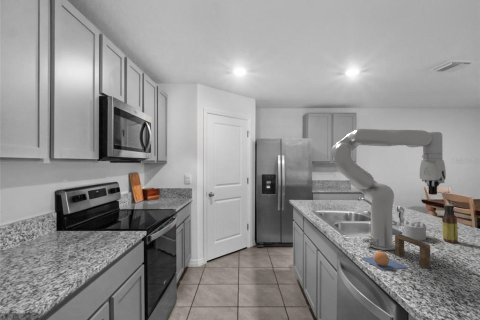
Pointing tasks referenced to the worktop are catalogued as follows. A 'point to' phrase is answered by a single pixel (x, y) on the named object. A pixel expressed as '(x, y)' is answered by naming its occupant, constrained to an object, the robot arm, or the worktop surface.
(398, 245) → the bridge
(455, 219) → the sauce bottle
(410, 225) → the lumpy-topped squat cylinder
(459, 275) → the worktop surface
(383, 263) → the ball
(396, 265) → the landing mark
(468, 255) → the worktop surface
